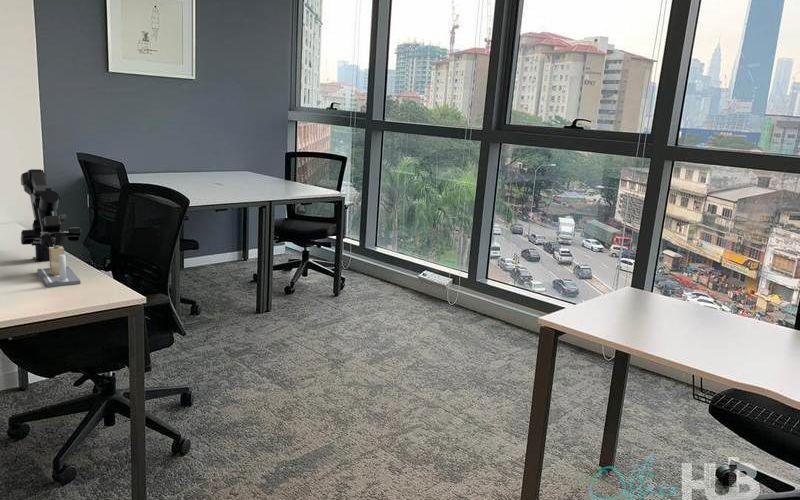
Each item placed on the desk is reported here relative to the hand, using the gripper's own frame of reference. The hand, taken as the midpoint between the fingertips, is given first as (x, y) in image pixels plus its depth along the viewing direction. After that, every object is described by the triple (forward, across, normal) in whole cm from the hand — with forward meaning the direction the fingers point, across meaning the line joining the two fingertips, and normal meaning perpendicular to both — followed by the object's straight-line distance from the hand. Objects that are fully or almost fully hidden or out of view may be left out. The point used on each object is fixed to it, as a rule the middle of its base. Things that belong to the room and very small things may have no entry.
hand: (55, 255), depth 213 cm
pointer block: (+6, 0, +2) cm, 6 cm away
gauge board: (+7, 0, +3) cm, 8 cm away
